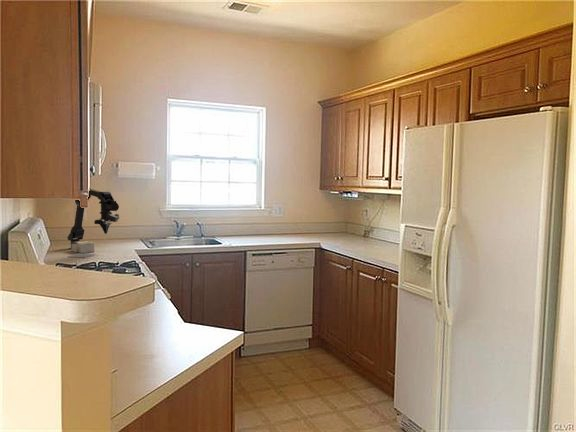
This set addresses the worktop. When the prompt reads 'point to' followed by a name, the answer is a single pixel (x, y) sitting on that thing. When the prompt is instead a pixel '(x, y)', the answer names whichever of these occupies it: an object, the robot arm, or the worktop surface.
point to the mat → (81, 255)
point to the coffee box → (82, 246)
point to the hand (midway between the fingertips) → (105, 233)
